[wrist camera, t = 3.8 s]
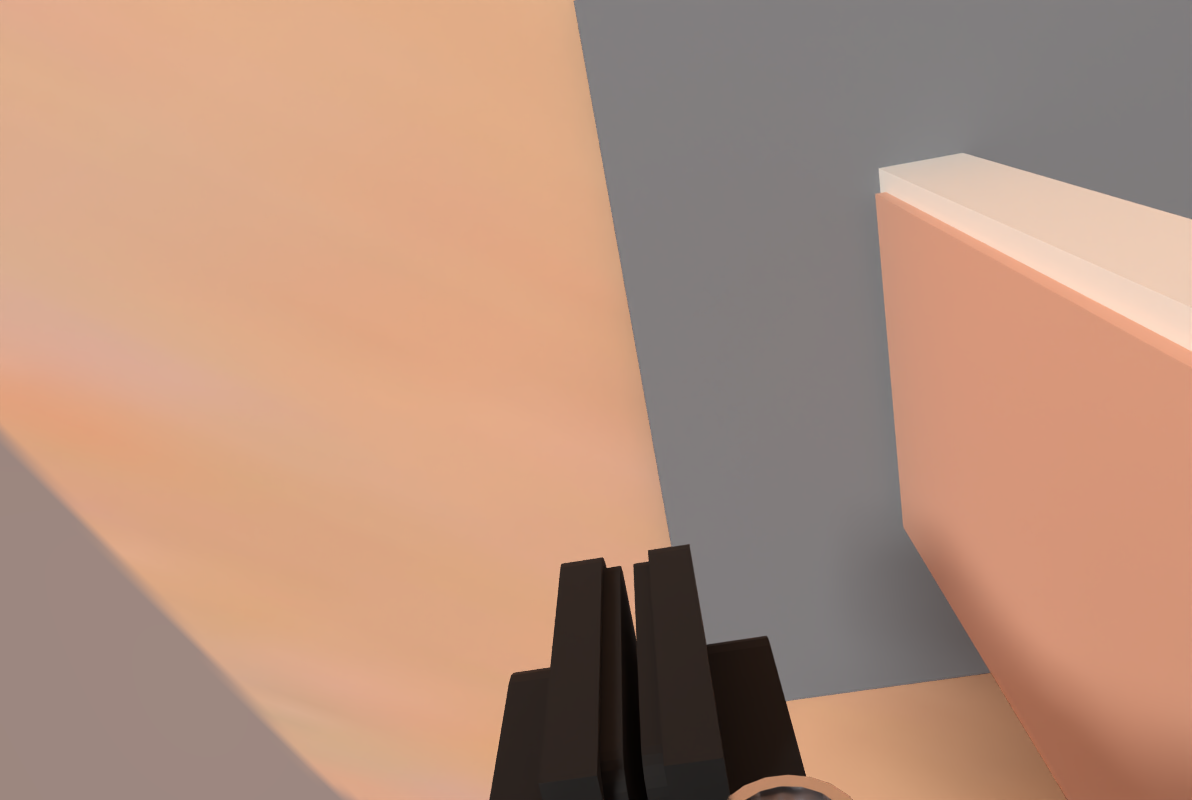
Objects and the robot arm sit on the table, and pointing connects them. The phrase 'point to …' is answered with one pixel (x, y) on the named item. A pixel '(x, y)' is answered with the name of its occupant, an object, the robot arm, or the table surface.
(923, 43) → the mat
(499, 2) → the table surface
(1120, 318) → the tile
